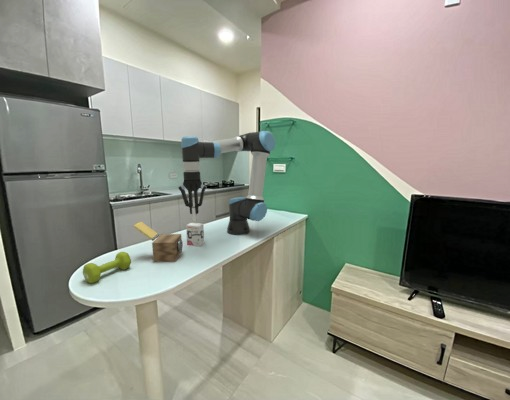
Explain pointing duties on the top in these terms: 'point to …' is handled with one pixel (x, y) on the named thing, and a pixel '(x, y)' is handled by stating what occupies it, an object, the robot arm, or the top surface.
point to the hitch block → (166, 248)
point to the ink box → (195, 234)
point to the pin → (179, 245)
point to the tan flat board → (146, 230)
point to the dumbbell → (106, 267)
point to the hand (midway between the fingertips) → (194, 220)
